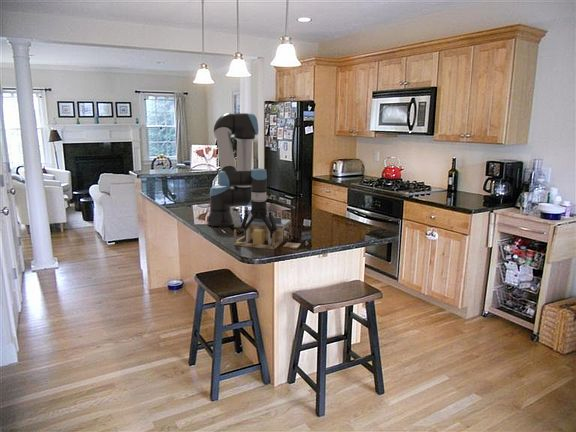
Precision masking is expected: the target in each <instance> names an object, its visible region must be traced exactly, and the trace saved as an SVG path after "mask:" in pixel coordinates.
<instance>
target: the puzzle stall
mask: <svg viewBox="0 0 576 432" xmlns="http://www.w3.org/2000/svg"><path fill="white" fill-rule="evenodd" d="M246 225H247V224H245V226H246ZM287 227H288V236H291V235H292V221H291V222H289V223H288V224H287V225H285V226H284V227H277V230H276V231H274V232H273V234H272V244H271V245H268V244H253V242H252V243H250V242H248V243H246V242H244V241H246V236H245V235H244V234H243V236H241V237H240V238H238V239H237V229H234V230H233V245H234V246H239V247H240V246H241V247H248V248H249V247H250V248H258V249H268V250H275V249H276V248H278V247H279V246H280V245H281V244H283V242H284V230H285V229H286V228H287ZM248 229H249V240H253V230H255V229H265V241H266V242H268V232H269V229H268V227H267V226H262V225H250V226H249V227H248Z"/></svg>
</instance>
